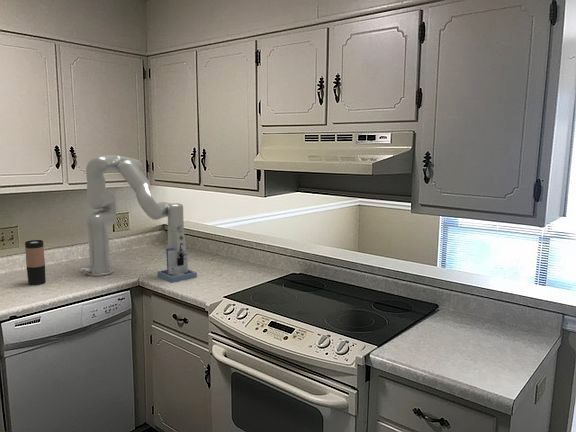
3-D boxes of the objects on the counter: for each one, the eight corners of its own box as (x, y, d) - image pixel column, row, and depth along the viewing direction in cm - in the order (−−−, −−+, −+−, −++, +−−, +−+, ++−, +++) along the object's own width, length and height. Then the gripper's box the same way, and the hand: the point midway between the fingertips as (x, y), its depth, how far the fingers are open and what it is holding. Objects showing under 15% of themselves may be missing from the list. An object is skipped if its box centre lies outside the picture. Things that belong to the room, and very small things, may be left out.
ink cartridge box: (186, 269, 238) (185, 241, 235) (188, 272, 233) (188, 244, 230) (166, 271, 234) (165, 243, 231) (168, 274, 229) (167, 246, 226)
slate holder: (171, 282, 223) (171, 277, 223) (157, 276, 234) (157, 271, 233) (196, 277, 233) (196, 272, 233) (182, 271, 243) (182, 266, 243)
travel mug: (26, 282, 220) (23, 241, 217) (44, 279, 225) (41, 239, 222) (29, 286, 214) (26, 244, 211) (48, 283, 219) (45, 241, 216)
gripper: (191, 230, 226) (192, 266, 229) (173, 225, 238) (174, 259, 241) (178, 232, 221) (179, 268, 223) (160, 227, 233) (161, 261, 236)
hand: (176, 263), depth 232 cm, fingers closed on ink cartridge box, 6 cm apart
